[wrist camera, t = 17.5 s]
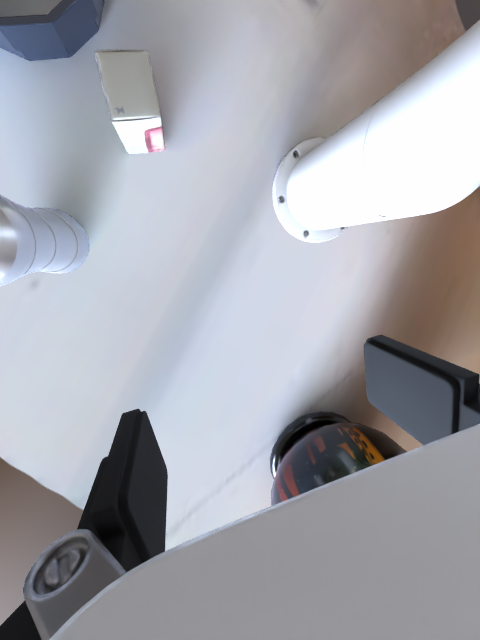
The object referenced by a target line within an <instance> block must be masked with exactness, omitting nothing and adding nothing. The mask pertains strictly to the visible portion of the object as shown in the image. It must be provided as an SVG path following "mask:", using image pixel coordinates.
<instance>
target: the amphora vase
mask: <svg viewBox="0 0 480 640" xmlns="http://www.w3.org/2000/svg"><path fill="white" fill-rule="evenodd" d="M406 452H407V451H406V450H404V449H403V448H402V447H401V446H399V445H398V444H397V443H396V442H394V441H393V440H392V439H391V438H389V437H388V436H387V435H386V434H384V433H383V432H381V431H379V430H376V429H373V428H371V427H368V426H365V425H362V424H358V423H351V422H350V421H348V420H347V419H346V418H345V417H343V416H342V415H339V414H336V413H333V412H317V413H312V414H308V415H306V416H304V417H301V418H299V419H297V420H296V421H295V422H293V423H292V424H291V425H289V426H288V427H287V428H286V429H285V430H284V431H283V433H282V434H281V435H280V436H279V438H278V439H277V441H276V443H275V445H274V447H273V450H272V454H271V458H270V469H271V473H272V476H273V478H274V483H273V486H272V490H271V502H272V506H273V505H276V504H278V503H281V502H283V501H286V500H288V499H290V498H293V497H295V496H298V495H300V494H303V493H305V492H308V491H310V490H313V489H315V488H318V487H320V486H323V485H325V484H328V483H330V482H333V481H335V480H338V479H340V478H343V477H345V476H348V475H350V474H353V473H355V472H358V471H360V470H363V469H365V468H368V467H370V466H373V465H375V464H378V463H380V462H383V461H385V460H388V459H390V458H393V457H395V456H398V455H400V454H403V453H406Z"/></svg>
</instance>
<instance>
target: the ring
mask: <svg viewBox="0 0 480 640" xmlns="http://www.w3.org/2000/svg"><path fill="white" fill-rule="evenodd" d="M103 5H104V0H62V1H61V2H60V3H59V4H58V5H57V6H56V7H55V8H54V9H53V10H52V11H51V12H50V13H49V14H48V15H32V16H15V17H0V48H2V49H4V50H7V51H9V52H11V53H13V54H15V55H18V56H20V57H22V58H24V59H26V60H29V61H33V60H45V59H57V58H69V57H70V56H71V57H72V56H73V55H74V54H75V53H76V52H77V51H78V50H79V49H80V48H81V47H82V46H83V45H84V44H85V43H86V42H87V41H88V40H89V39H90V38H91V37H93V36H94V35H95V34H96V33H97V32H98V30H99V26H100V21H101V15H102V10H103Z"/></svg>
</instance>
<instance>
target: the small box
mask: <svg viewBox="0 0 480 640" xmlns="http://www.w3.org/2000/svg"><path fill="white" fill-rule="evenodd" d="M95 57H96V62H97V66H98V71H99V75H100V79H101V83H102V87H103V91H104V95H105V99H106V103H107V107H108V111H109V115H110V119H111V121H112V123H113V125H114V127H115V129H116V131H117V133H118V135H119V137H120V139H121V141H122V143H123V145H124V147H125V149H126V151H127V153H128V154H138V153H149V152H158V151H164V150H165V144H164V137H163V129H162V121H161V113H160V107H159V101H158V96H157V91H156V86H155V81H154V76H153V71H152V67H151V62H150V58H149V53H148V51H147V50H96V51H95Z"/></svg>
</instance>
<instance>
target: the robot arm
mask: <svg viewBox="0 0 480 640" xmlns="http://www.w3.org/2000/svg"><path fill="white" fill-rule="evenodd" d="M293 155H294V156H295V158H294V157H293ZM479 186H480V20H479V21H478V22H477V23H475V25H473V26H472V27H471V28H470V29H469V30H467V31H466V32H465V33H464V34H463V35H462V36H460V37H459V38H458V39H457V40H456V41H454V42H453V43H452V44H451V45H449V46H448V47H447V48H446V49H445V50H443V51H442V52H441V53H440V54H439V55H437V56H436V57H435V58H433V59H432V60H431V61H430V62H428V63H427V64H426V65H425V66H423V67H422V68H421V69H419V70H418V71H417V72H416V73H414V74H413V75H412V76H410V77H409V78H408V79H406V80H405V81H404V82H402V83H401V84H400V85H398V86H397V87H396V88H394V89H393V90H392V91H390V92H389V93H388V94H386V95H385V96H384V97H382V98H381V99H380V100H378V101H377V102H376V103H374V104H373V105H372V106H370V107H369V108H368V109H366V110H365V111H364V112H362V113H361V114H360V115H358V116H357V117H356V118H354V119H353V120H352V121H350V122H349V123H348V124H346V125H345V126H344V127H342V128H341V129H340V130H338V131H337V132H336V133H334V134H333V135H332V136H330V137H329V138H326V137H314V138H310V139H307V140H304V141H303V142H301V143H299V144H297V145H296V146H295V147H294V148H292V149H291V150H290V151H289V152H288V153H287V154H286V155H285V157H284V158H283V160H282V161H281V163H280V164H279V166H278V169H277V171H276V174H275V178H274V182H273V203H274V207H275V211H276V214H277V216H278V218H279V220H280V222H281V224H282V225H283V226H284V228H285V229H286V230H287V231H288V232H289V233H290V234H292V235H293V236H295V237H296V238H298V239H300V240H303V241H306V242H323V241H327V240H330V239H333V238H335V237H337V236H338V235H340V234H341V233H342V232H344V231H345V230H346V229H347V227H348V226H351V225H358V224H365V223H371V222H378V221H385V220H392V219H398V218H405V217H412V216H417V215H424V214H429V213H433V212H437V211H440V210H443V209H446V208H448V207H450V206H452V205H454V204H456V203H458V202H459V201H461V200H463V199H464V198H465V197H467V196H468V195H469V194H471V193H472V192H473V191H474V190H475V189H477V188H478V187H479ZM278 199H280V200H281V201H280V202H279V201H278ZM303 232H304V236H303ZM364 359H365V373H366V388H367V398H368V400H369V402H370V403H371V404H372V405H373V406H374V407H375V408H377V409H378V410H379V411H381V412H382V413H383V414H384V415H386V416H387V417H388V418H390V419H391V420H392V421H393V422H395V423H396V424H397V425H399V426H400V427H401V428H402V429H404V430H405V431H406V432H407V433H409V434H410V435H411V436H413V437H414V438H415V439H416V440H418V441H419V442H420V443H422V444H423V445H424V446H421V447H418V448H416V449H413V450H411V451H408V452H406V453H403V454H400V455H398V456H395V457H393V458H390V459H388V460H385V461H383V462H380V463H378V464H375V465H373V466H370V467H368V468H365V469H363V470H360V471H358V472H355V473H353V474H350V475H348V476H345V477H343V478H340V479H338V480H335V481H333V482H330V483H328V484H325V485H323V486H320V487H318V488H315V489H313V490H310V491H308V492H305V493H303V494H300V495H298V496H295V497H293V498H290V499H288V500H286V501H283V502H281V503H278V504H276V505H273V506H271V507H268V508H266V509H263V510H261V511H258V512H256V513H254V514H251V515H249V516H246V517H244V518H241V519H239V520H236V521H234V522H232V523H229V524H227V525H224V526H222V527H220V528H217V529H215V530H212V531H210V532H208V533H205V534H203V535H201V536H198V537H196V538H194V539H192V540H189V541H187V542H185V543H183V544H180V545H178V546H176V547H174V548H172V549H170V550H167V551H165V532H166V506H167V479H168V475H167V468H166V465H165V462H164V459H163V457H162V454H161V451H160V448H159V446H158V443H157V440H156V437H155V435H154V432H153V429H152V426H151V424H150V421H149V418H148V415H147V413H146V411H143V412H141V411H140V409H136V410H133V411H129V412H126V413H123V414H122V416H121V419H120V422H119V425H118V428H117V431H116V434H115V437H114V440H113V443H112V446H111V449H110V452H109V455H108V457H105V458H104V459H103V460H102V461H101V464H100V466H99V469H98V472H97V475H96V478H95V480H94V483H93V486H92V489H91V492H90V494H89V497H88V500H87V503H86V506H85V508H84V511H83V514H82V517H81V520H80V523H79V525H78V528H77V530H75V531H72V532H70V533H68V534H66V535H64V536H62V537H60V538H59V539H58V540H57V541H55V542H54V543H53V544H51V545H50V546H49V547H48V548H47V549H46V550H45V551H44V553H42V554H41V555H40V557H39V558H38V559H37V561H36V562H35V563H34V565H33V566H32V568H31V570H30V572H29V573H28V575H27V577H26V580H25V584H24V588H23V593H24V599H25V601H24V602H23V603H22V604H21V605H20V606H19V607H18V608H17V609H16V610H15V612H13V613H12V614H11V615H10V617H9V618H7V620H6V621H5V622H4V623H3V624H2V625H1V626H0V640H480V384H479V374H477V373H474V372H472V371H469V370H467V369H465V368H462V367H460V366H457V365H455V364H452V363H450V362H447V361H445V360H442V359H440V358H437V357H435V356H432V355H430V354H427V353H425V352H423V351H420V350H418V349H415V348H413V347H410V346H408V345H405V344H403V343H400V342H398V341H395V340H393V339H390V338H388V337H385V336H383V335H378V336H375V337H372V338H368V339H367V341H366V343H365V344H364Z"/></svg>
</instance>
